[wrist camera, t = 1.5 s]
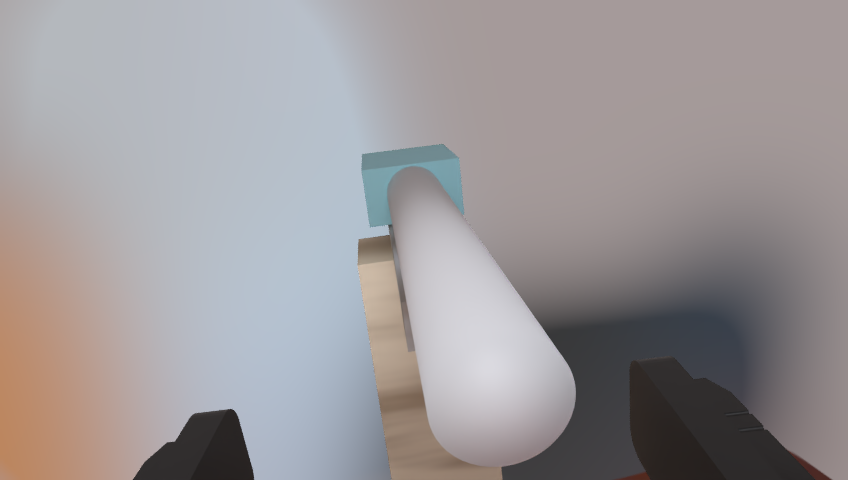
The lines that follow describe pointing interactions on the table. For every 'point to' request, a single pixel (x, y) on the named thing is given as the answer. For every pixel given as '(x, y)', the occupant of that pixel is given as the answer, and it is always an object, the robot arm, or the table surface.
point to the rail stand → (402, 373)
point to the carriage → (466, 317)
